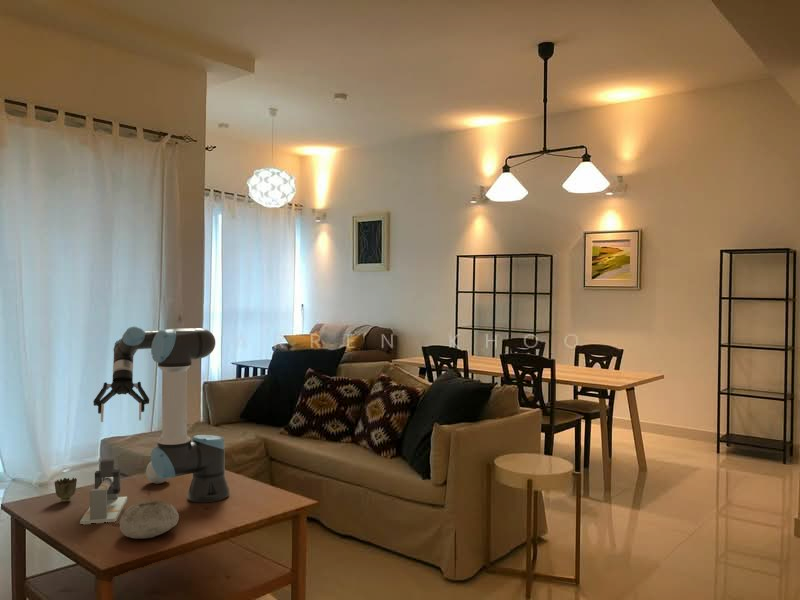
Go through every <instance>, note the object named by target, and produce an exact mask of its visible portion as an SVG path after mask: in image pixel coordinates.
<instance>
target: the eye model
mask: <svg viewBox="0 0 800 600" xmlns="http://www.w3.org/2000/svg"><path fill="white" fill-rule="evenodd" d="M145 476H146V478H147V479H148V480H149V481H150V482H151V483H153V484H163V483H165V482H167V481H168V480H169V479H170V478H166V479H162V478H160V477H159V476H158V475H157V474H156V473H155V471H154V469H153V466H152V462H151V461H150V462H149V463H148V464H147V466H146V469H145Z"/></svg>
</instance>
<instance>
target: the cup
mask: <svg viewBox="0 0 800 600" xmlns="http://www.w3.org/2000/svg"><path fill="white" fill-rule="evenodd" d="M77 481H78V480H77V478H76V477H75V478H74V477H72V479H70V478H69V477H64V478H63V479H62V478H60V479H57V480H55V481H54V482H53V483H54V489H55V495H56V496H57V497H58V498H59V500H60V502H61V503H64V504H65V503H69V502H71V501H72V497H73V496H74V495H75V493H76V490H77Z"/></svg>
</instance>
